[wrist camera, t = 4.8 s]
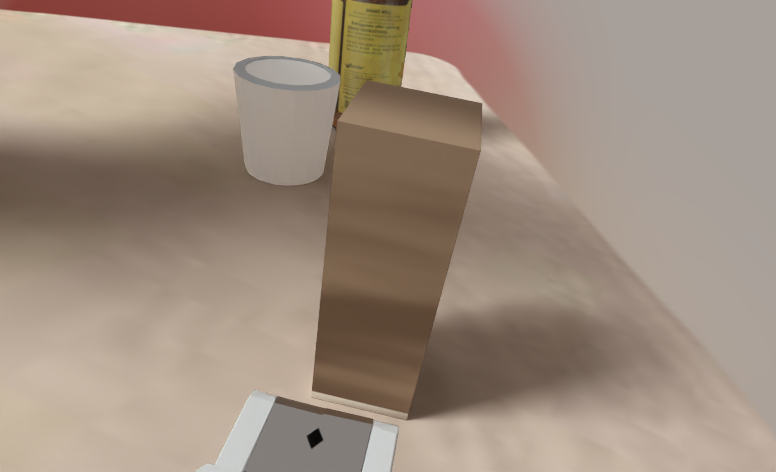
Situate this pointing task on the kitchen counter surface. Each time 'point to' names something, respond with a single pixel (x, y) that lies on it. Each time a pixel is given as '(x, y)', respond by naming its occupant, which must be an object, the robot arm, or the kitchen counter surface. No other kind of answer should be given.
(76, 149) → the kitchen counter surface
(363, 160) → the walnut block
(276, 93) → the white tapered cylinder
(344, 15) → the sauce bottle
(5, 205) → the kitchen counter surface
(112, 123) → the kitchen counter surface
